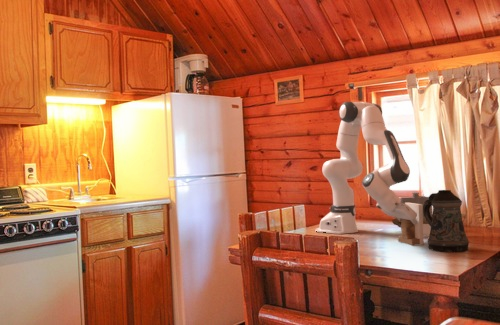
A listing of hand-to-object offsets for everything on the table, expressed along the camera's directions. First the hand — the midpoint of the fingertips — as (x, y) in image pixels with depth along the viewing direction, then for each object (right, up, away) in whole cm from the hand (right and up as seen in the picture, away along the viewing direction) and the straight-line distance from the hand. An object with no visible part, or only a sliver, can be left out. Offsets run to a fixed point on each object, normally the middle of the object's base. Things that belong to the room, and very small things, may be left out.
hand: (409, 222), depth 229 cm
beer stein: (+11, -10, -15) cm, 21 cm away
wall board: (+1, -10, 0) cm, 10 cm away
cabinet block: (0, -7, 0) cm, 7 cm away
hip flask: (+15, -9, +35) cm, 39 cm away
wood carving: (+16, -9, +19) cm, 26 cm away
